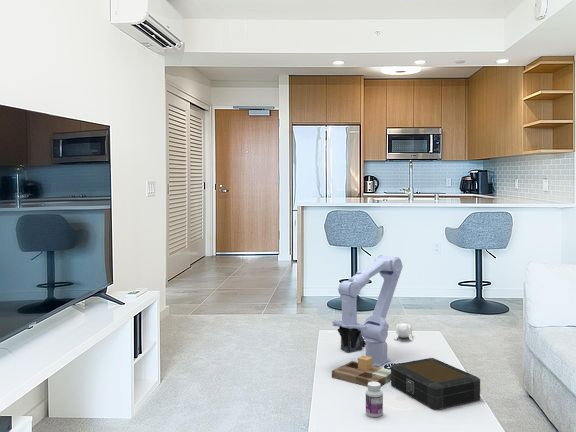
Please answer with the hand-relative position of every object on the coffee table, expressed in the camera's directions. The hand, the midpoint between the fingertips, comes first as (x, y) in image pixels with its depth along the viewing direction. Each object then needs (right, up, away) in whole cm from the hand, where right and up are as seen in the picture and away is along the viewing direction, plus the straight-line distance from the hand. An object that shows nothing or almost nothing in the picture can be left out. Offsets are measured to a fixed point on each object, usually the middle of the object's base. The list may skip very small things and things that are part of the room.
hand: (349, 346), depth 201 cm
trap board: (+4, -10, -7) cm, 13 cm away
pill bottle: (+3, -11, -39) cm, 41 cm away
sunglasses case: (+7, -8, +40) cm, 41 cm away
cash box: (+26, -11, -22) cm, 36 cm away
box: (+4, -8, +27) cm, 29 cm away
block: (+5, -7, -4) cm, 10 cm away
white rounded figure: (+30, -8, +43) cm, 53 cm away
